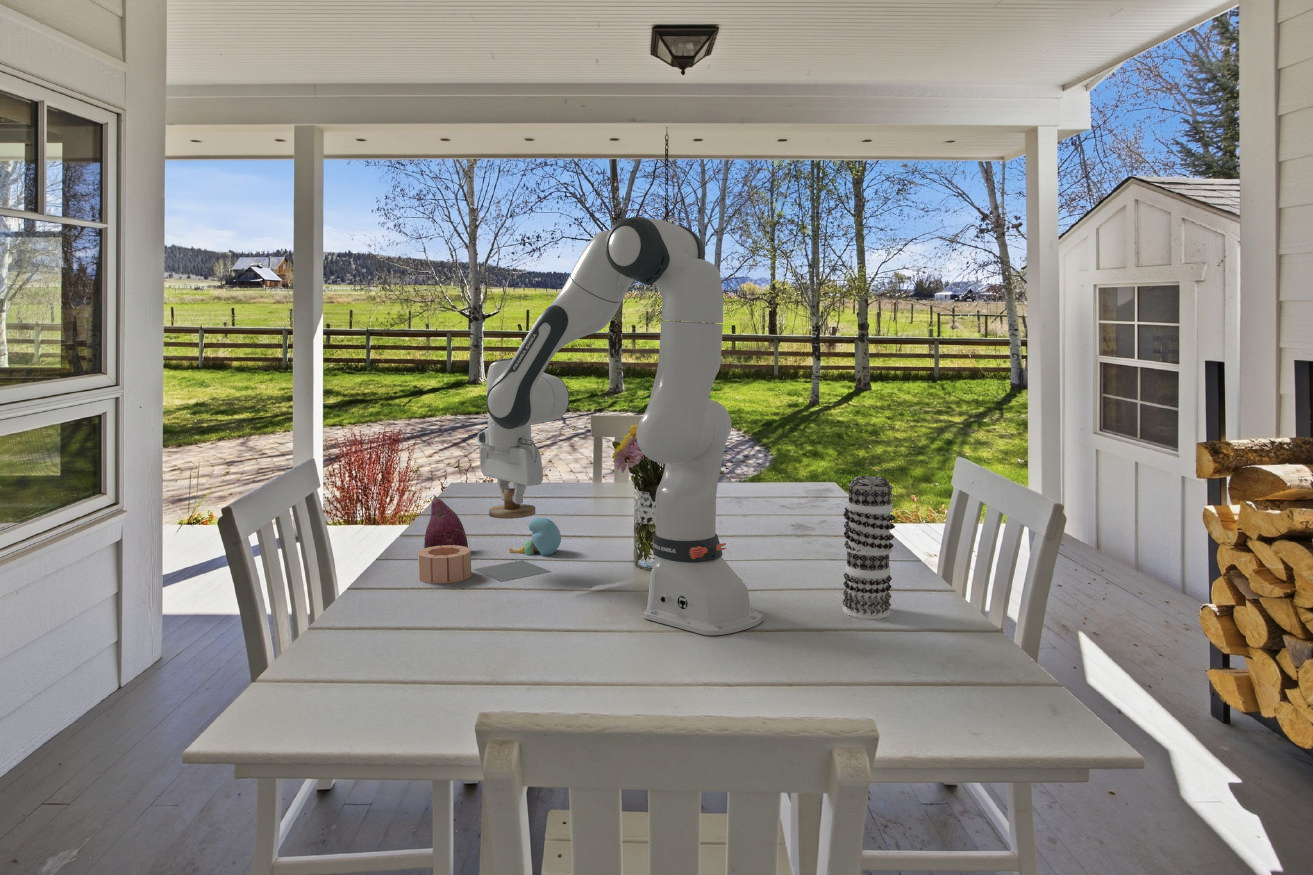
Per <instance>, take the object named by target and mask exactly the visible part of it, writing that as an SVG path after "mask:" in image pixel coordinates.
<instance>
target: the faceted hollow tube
mask: <svg viewBox="0 0 1313 875" xmlns="http://www.w3.org/2000/svg"><path fill="white" fill-rule="evenodd" d="M417 577H418V579H419V581H420V582H424V583H429V584H451V583H457V582H462V581H466V580H467V579H469V578H471V577H472V551H471V549H470V548H469V547H468V548H467V547H464V546H458V545H457V546H456V545H442V546H434V547H428V548H422V549H420V550H418V551H417Z"/></svg>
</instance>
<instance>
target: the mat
mask: <svg viewBox="0 0 1313 875" xmlns="http://www.w3.org/2000/svg"><path fill="white" fill-rule="evenodd" d="M473 571H476V572H478V573H480V574H482V575H484V576H487V577H489V578H490V579H493V580H496V581H498V582H501V583H502V582H507V581H513V580H517V579H522V578H523V579H524V578H528V577H532V576H538V575H544V574H548V573H552V571H551V570H548V569H545V567H544V568H543V567H540V566H538V565H536V564H533V563H531V562H528V561H526V560H516V561H511V562H505V563H501V564H494V565H490V566H483V567H479V568H473Z"/></svg>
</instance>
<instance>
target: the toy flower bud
mask: <svg viewBox="0 0 1313 875" xmlns="http://www.w3.org/2000/svg"><path fill="white" fill-rule="evenodd" d="M527 526H528V530H529V531H531V534H530V533H529V534H530V536H531V539H528V540H527V541H526V542H525V543H524V544H523V545H522V546H521V547H520V548H512V547H509V548H508V552H509V553H511V554H525V555H526V556H532V555H534V554H535V552H539V554H540V555H541V556H551V555H554V553H555V552H556V551H557V550H558V549H559V547H560V545H561V542H562V535H561V531H560V530H559V527H558V526H557V524H556V523H555V522H554V521H553V520H551V519H549V518H546V517H536V518H533V519H531V520H530V521H529V523H528V525H527Z"/></svg>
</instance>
